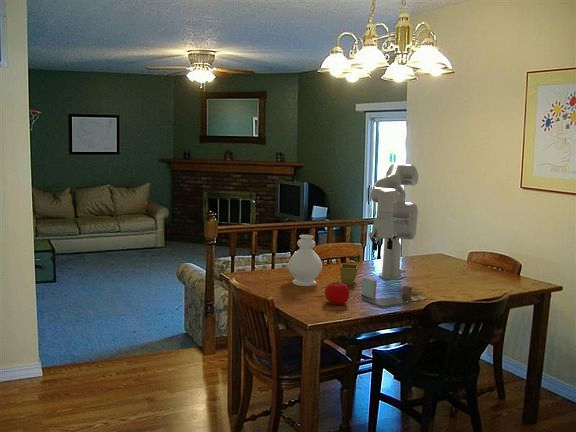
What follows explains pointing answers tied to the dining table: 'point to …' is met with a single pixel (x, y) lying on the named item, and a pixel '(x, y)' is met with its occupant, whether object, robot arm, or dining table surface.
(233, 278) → the dining table surface
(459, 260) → the dining table surface
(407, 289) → the turner
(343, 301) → the tomato
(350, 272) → the flower pot
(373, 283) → the tile
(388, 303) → the trivet
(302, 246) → the decorative vase
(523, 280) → the dining table surface
